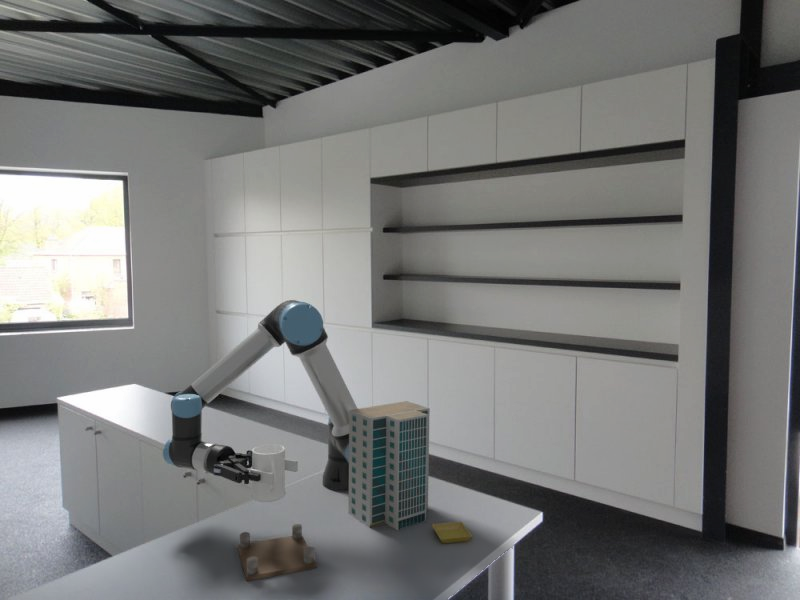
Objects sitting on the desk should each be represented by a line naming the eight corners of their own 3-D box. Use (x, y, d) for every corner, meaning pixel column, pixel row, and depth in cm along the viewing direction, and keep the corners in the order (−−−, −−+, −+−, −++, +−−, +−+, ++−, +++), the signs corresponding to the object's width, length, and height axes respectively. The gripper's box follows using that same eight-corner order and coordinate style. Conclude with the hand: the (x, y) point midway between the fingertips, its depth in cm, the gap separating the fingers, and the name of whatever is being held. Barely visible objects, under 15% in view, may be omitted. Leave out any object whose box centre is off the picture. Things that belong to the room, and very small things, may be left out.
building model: (381, 535, 151) (382, 422, 149) (348, 513, 164) (349, 410, 162) (440, 516, 163) (441, 412, 161) (405, 497, 176) (406, 400, 175)
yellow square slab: (472, 543, 148) (472, 535, 148) (440, 546, 146) (440, 538, 146) (461, 528, 156) (461, 521, 156) (431, 531, 154) (431, 524, 154)
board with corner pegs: (301, 537, 149) (301, 522, 149) (316, 567, 134) (316, 551, 134) (237, 548, 143) (237, 532, 143) (246, 581, 128) (246, 563, 128)
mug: (289, 505, 140) (289, 457, 139) (252, 509, 137) (253, 460, 136) (283, 487, 151) (283, 442, 150) (250, 490, 148) (250, 445, 147)
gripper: (242, 460, 162) (309, 473, 152) (183, 486, 142) (256, 503, 132) (242, 434, 161) (310, 445, 152) (183, 456, 141) (257, 471, 132)
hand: (285, 472), depth 142 cm, fingers closed on mug, 9 cm apart
